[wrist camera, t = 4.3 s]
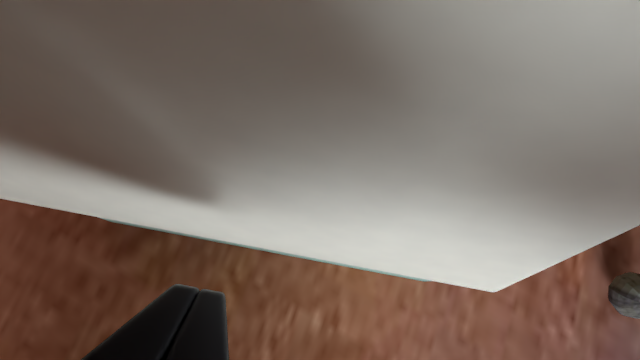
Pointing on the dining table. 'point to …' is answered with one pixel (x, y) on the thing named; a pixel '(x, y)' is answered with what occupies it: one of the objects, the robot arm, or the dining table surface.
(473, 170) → the lid
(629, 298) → the tabletop clock
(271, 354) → the dining table surface
